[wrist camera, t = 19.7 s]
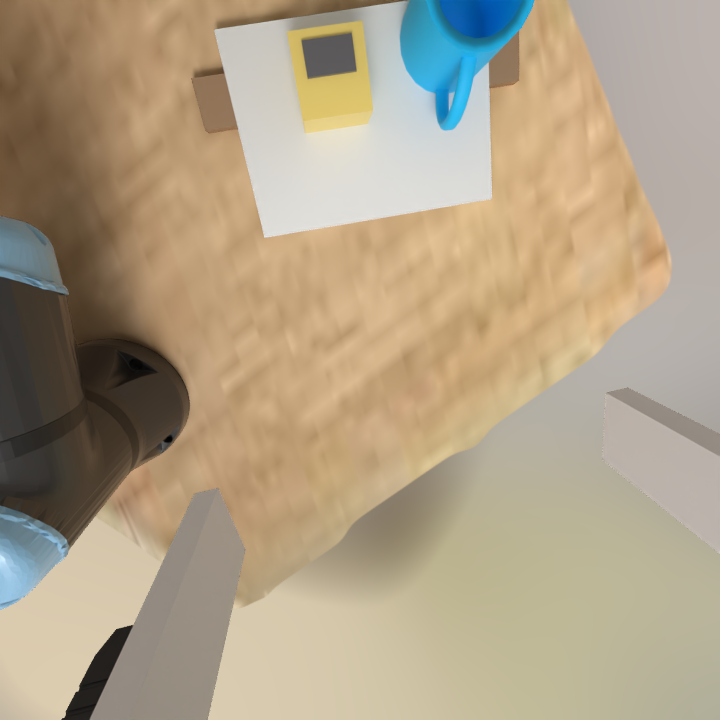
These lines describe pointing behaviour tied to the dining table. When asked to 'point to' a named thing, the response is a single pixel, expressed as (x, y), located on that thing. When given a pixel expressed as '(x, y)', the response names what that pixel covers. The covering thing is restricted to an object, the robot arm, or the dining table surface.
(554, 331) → the dining table surface
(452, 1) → the mug
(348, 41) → the block
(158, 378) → the robot arm
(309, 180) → the drywall panel
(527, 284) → the dining table surface
